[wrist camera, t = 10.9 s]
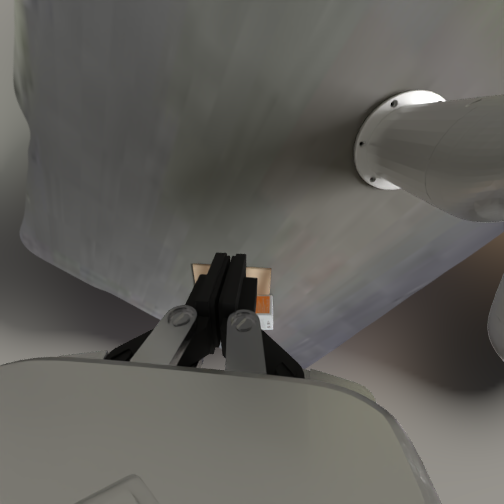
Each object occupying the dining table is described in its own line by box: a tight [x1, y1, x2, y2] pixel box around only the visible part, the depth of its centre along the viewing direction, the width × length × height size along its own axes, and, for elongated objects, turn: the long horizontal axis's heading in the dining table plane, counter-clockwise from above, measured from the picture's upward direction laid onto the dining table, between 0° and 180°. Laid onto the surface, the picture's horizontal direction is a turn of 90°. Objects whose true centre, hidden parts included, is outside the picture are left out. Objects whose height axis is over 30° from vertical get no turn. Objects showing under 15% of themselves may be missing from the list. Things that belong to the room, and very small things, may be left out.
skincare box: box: [255, 295, 273, 330], centre depth 47 cm, size 6×4×12 cm
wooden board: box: [193, 264, 271, 295], centre depth 49 cm, size 16×16×1 cm
